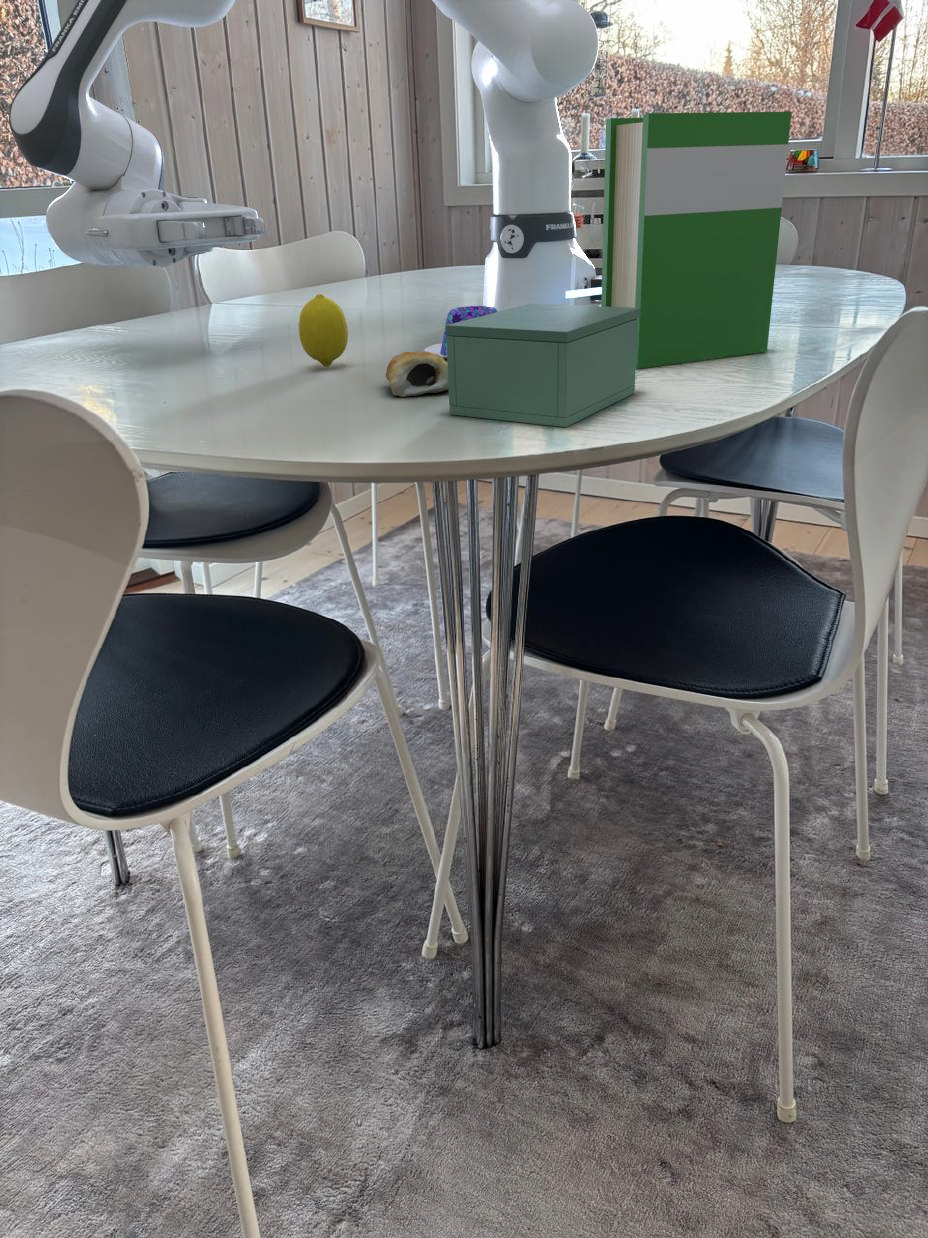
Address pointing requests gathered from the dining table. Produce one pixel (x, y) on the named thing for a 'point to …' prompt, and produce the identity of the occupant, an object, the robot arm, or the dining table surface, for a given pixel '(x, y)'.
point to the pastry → (417, 373)
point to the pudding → (458, 316)
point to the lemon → (323, 329)
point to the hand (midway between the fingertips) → (231, 228)
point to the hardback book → (694, 230)
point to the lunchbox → (541, 376)
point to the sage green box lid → (544, 322)
